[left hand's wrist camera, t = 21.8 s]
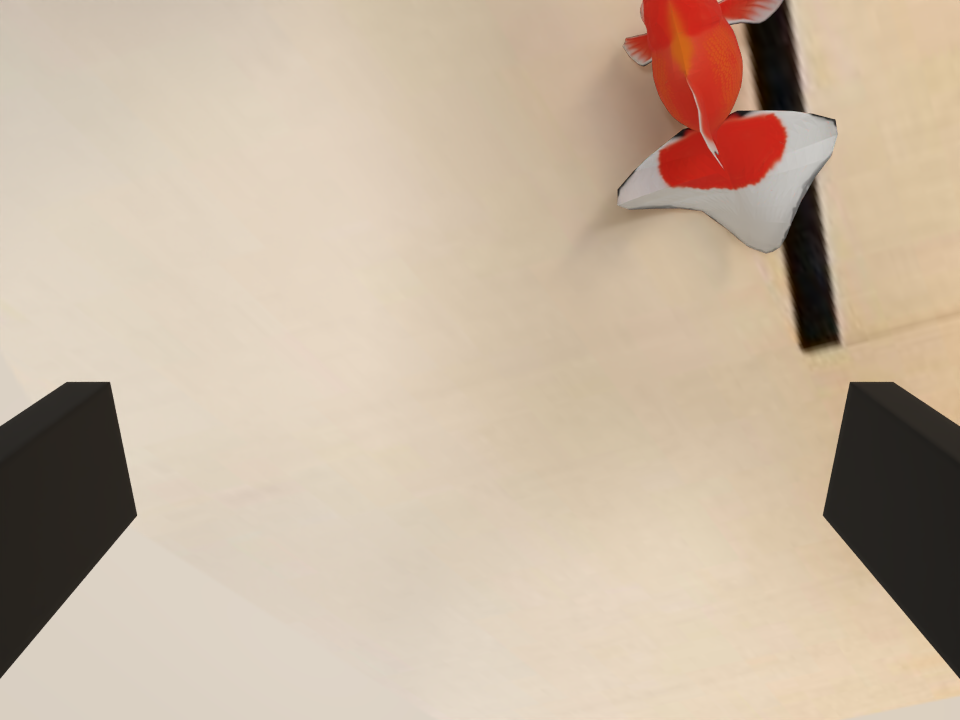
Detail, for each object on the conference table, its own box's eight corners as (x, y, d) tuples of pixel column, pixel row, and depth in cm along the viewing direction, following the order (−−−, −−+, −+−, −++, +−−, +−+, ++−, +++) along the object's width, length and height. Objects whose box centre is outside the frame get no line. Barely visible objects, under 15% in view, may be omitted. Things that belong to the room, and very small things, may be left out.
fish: (859, -102, 31) (888, -15, 25) (814, 192, 42) (826, 304, 36) (618, -63, 34) (589, 22, 28) (635, 199, 45) (617, 302, 39)
